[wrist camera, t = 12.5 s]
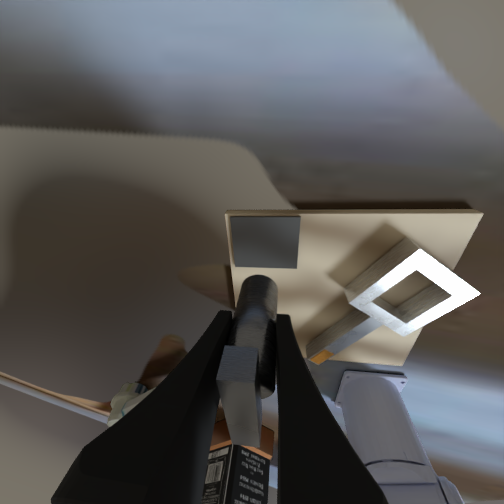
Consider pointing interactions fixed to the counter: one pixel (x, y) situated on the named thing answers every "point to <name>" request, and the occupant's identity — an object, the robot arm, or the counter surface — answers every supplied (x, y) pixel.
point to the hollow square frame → (381, 312)
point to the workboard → (341, 264)
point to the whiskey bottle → (237, 469)
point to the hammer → (249, 360)
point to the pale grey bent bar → (126, 400)
